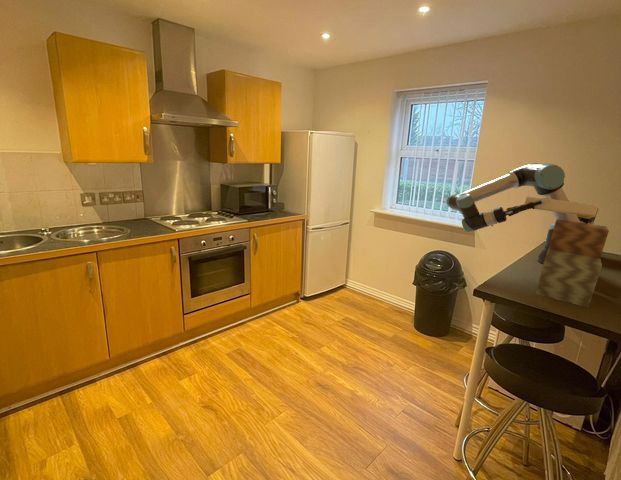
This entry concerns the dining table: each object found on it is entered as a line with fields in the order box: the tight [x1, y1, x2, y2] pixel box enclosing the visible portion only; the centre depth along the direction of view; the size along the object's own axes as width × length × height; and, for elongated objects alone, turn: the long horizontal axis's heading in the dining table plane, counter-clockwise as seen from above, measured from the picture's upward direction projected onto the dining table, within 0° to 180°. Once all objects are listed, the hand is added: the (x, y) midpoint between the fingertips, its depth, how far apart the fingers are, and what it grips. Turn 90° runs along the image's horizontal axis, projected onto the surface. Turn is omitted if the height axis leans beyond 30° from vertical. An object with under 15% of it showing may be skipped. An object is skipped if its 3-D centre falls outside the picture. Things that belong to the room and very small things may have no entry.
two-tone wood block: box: [535, 219, 610, 308], centre depth 145 cm, size 18×26×30 cm
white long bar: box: [524, 195, 599, 218], centre depth 149 cm, size 26×4×5 cm, turn 52°
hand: (550, 198), depth 151 cm, fingers closed on white long bar, 4 cm apart
